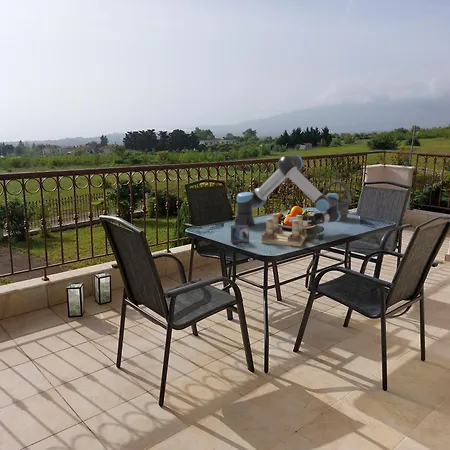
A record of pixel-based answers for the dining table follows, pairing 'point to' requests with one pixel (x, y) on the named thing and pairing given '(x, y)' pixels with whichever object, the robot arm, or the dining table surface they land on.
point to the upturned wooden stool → (282, 233)
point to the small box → (239, 234)
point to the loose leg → (300, 222)
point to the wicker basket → (341, 200)
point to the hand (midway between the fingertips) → (295, 221)
